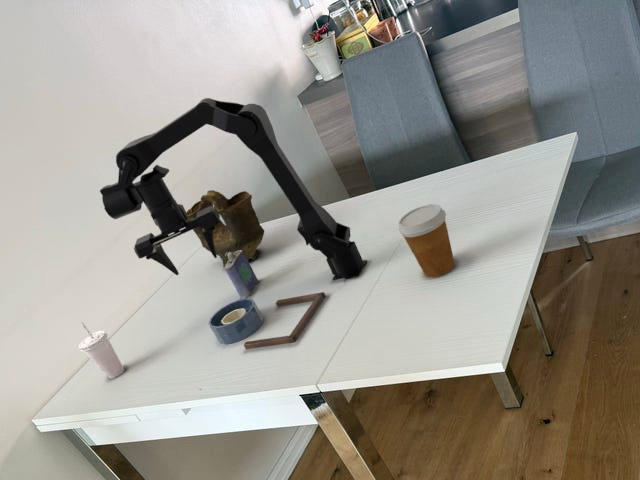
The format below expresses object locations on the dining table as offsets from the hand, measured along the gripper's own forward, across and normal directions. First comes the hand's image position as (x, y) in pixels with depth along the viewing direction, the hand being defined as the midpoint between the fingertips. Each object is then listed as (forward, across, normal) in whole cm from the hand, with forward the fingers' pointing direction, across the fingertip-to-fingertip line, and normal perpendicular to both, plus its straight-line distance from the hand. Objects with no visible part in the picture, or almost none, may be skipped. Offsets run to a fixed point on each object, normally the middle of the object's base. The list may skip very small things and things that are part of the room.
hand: (196, 265), depth 151 cm
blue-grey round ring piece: (+13, -4, +12) cm, 18 cm away
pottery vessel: (+14, -5, -31) cm, 34 cm away
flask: (+14, -6, -8) cm, 17 cm away
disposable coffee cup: (+13, -47, +24) cm, 54 cm away
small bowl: (+13, -4, +12) cm, 18 cm away
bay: (+13, -14, +18) cm, 27 cm away
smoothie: (+14, +27, +5) cm, 31 cm away
